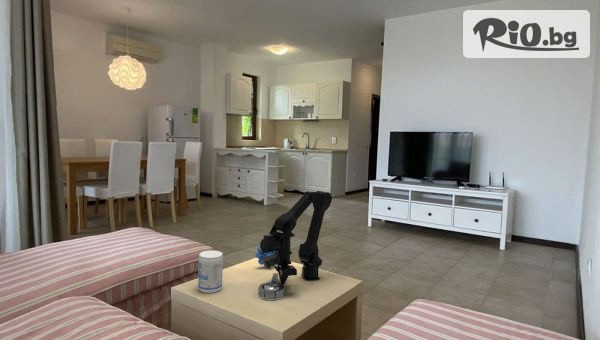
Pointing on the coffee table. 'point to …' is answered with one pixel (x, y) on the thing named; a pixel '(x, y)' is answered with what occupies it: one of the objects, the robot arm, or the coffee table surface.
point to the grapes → (262, 255)
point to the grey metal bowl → (271, 288)
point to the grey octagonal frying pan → (272, 294)
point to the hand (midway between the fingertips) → (282, 285)
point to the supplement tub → (210, 271)
